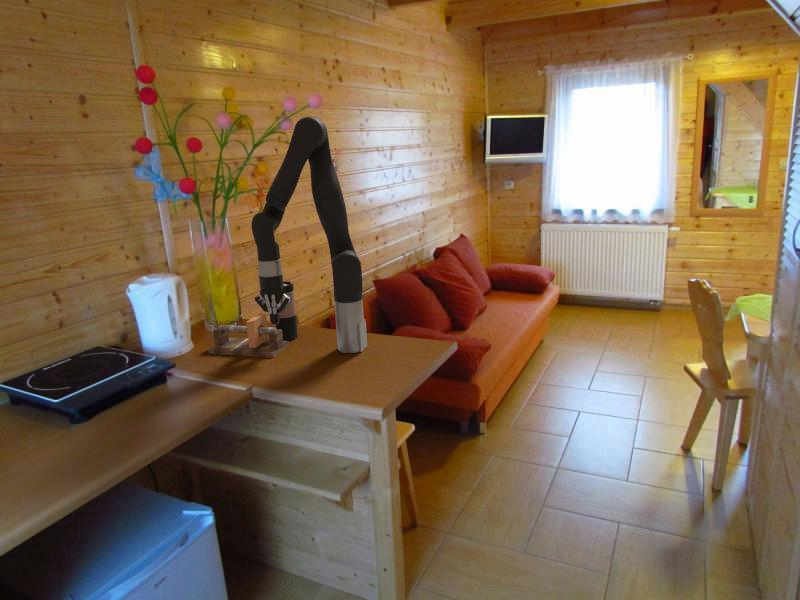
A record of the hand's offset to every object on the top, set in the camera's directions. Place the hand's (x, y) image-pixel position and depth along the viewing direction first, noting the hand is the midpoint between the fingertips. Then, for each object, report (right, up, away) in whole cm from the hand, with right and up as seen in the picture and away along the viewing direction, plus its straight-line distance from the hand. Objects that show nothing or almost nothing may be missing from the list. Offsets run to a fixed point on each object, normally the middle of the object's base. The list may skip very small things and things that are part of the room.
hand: (275, 323), depth 187 cm
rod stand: (-10, -9, +6) cm, 15 cm away
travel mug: (+1, -6, +16) cm, 17 cm away
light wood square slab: (-6, -7, +4) cm, 10 cm away
